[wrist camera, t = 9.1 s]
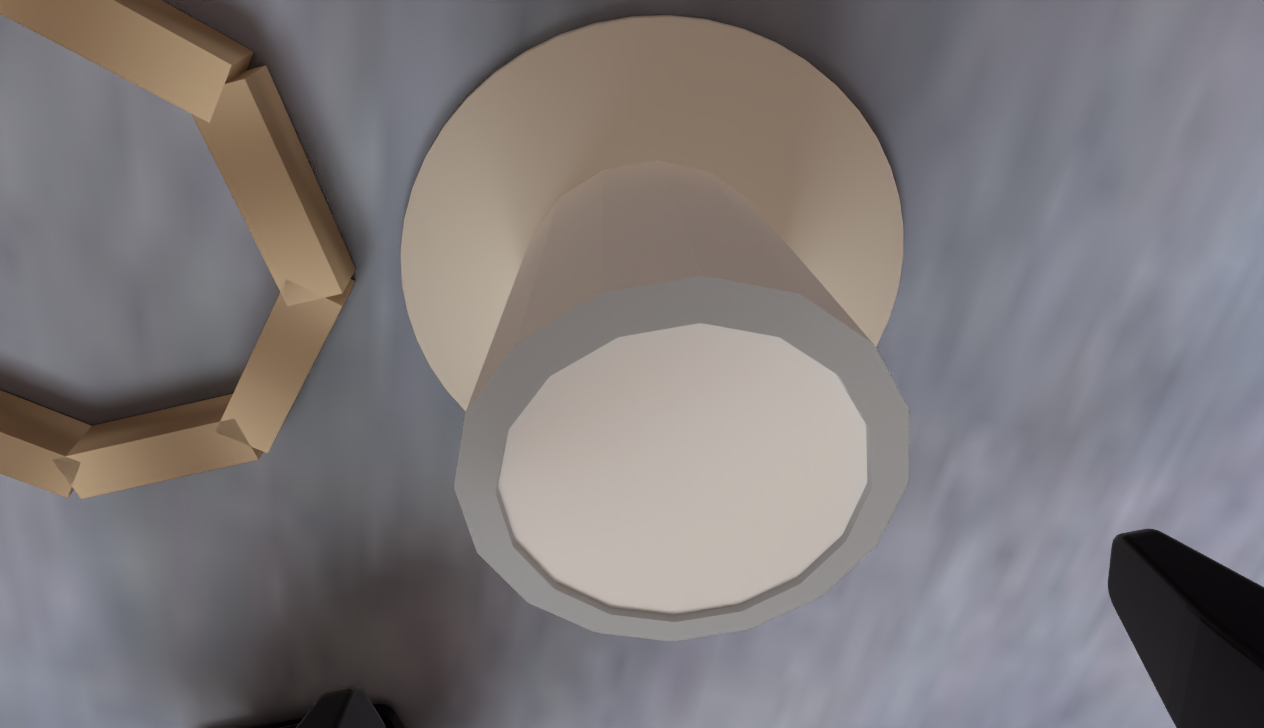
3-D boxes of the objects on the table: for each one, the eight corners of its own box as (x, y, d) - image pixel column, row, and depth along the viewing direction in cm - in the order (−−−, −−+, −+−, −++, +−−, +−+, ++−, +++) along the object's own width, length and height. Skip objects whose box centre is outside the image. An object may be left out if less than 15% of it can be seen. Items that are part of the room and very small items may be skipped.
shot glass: (716, 448, 21) (773, 685, 15) (451, 358, 19) (393, 585, 13) (864, 207, 18) (1011, 383, 12) (564, 72, 16) (556, 198, 10)
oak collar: (412, 398, 20) (403, 427, 19) (-25, 496, 21) (-57, 529, 20) (174, -144, 14) (142, -145, 13) (-423, 20, 15) (-497, 31, 14)
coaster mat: (909, 420, 21) (915, 429, 21) (492, 508, 22) (491, 519, 22) (880, -50, 16) (888, -48, 15) (320, 91, 16) (315, 96, 16)
